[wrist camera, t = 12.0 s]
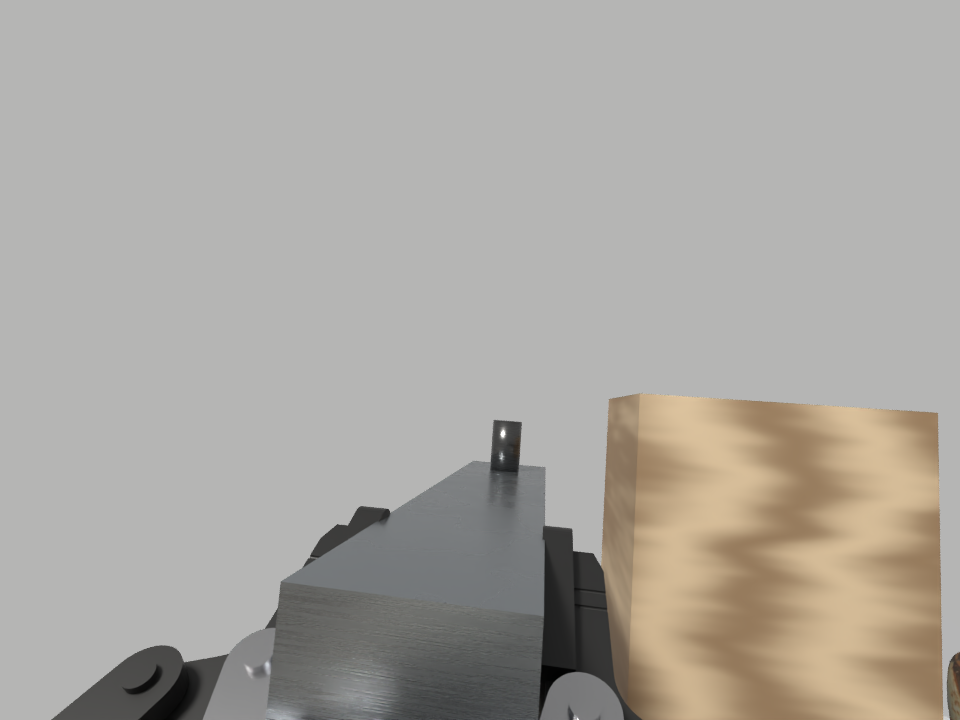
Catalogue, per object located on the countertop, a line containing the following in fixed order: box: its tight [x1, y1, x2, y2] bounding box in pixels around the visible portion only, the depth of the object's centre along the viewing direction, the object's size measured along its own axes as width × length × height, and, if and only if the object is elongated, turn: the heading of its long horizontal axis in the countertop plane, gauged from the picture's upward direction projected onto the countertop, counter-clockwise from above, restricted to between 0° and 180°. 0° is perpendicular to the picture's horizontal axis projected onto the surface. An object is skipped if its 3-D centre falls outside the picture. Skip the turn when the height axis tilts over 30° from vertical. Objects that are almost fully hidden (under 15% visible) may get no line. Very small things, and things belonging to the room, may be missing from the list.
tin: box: [266, 420, 545, 720], centre depth 17 cm, size 4×20×6 cm, turn 172°
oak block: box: [601, 394, 943, 720], centre depth 25 cm, size 12×11×32 cm
